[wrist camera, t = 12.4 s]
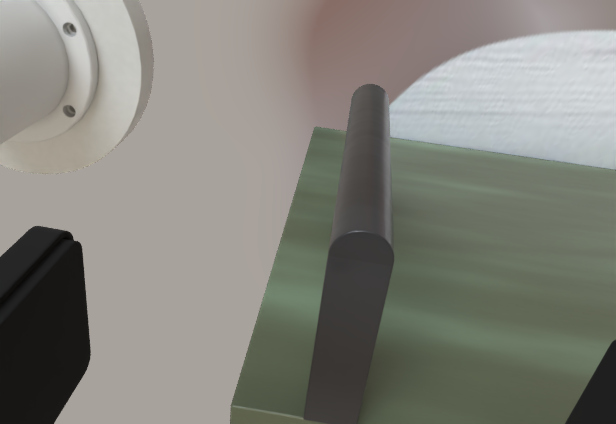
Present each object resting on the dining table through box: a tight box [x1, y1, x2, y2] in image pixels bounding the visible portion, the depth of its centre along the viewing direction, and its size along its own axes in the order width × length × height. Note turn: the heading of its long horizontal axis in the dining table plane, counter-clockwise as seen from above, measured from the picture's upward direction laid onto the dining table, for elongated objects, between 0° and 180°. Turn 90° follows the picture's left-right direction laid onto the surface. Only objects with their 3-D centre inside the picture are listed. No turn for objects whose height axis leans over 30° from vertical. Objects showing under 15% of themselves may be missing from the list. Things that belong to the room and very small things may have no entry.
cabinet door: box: [230, 84, 616, 424], centre depth 24 cm, size 8×26×24 cm, turn 84°
